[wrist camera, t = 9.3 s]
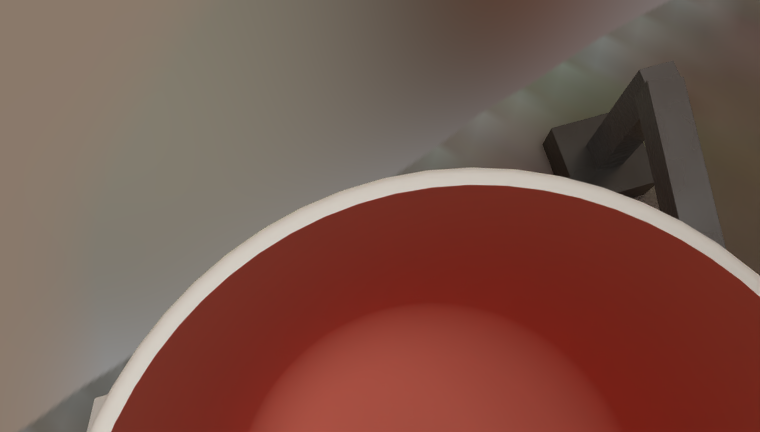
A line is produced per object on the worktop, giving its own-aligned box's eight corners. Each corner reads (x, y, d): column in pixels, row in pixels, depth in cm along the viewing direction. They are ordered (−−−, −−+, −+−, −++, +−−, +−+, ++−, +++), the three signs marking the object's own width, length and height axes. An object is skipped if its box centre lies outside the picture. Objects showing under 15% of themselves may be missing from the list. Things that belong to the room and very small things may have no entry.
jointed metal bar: (620, 122, 37) (700, 19, 27) (874, 724, 29) (1107, 864, 20) (537, 145, 36) (589, 48, 27) (772, 760, 29) (958, 920, 19)
